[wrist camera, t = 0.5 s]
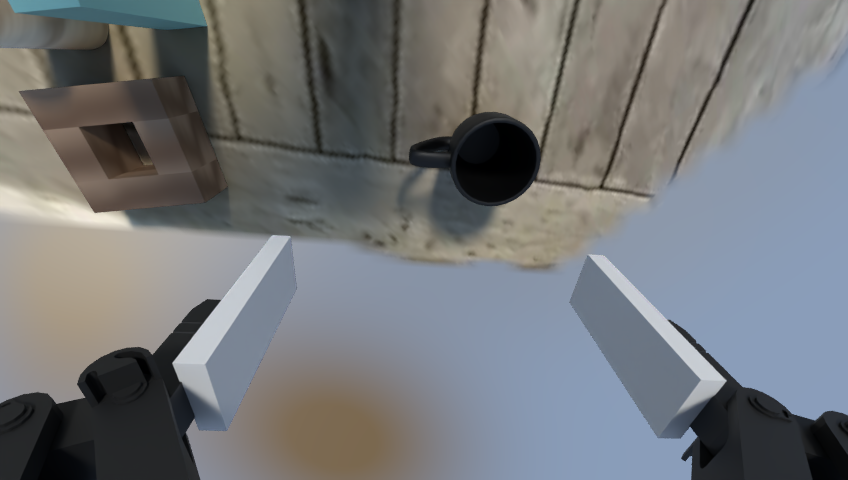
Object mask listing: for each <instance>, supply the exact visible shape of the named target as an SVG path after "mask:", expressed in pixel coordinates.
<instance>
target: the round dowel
mask: <svg viewBox="0 0 848 480" xmlns="http://www.w3.org/2000/svg"><path fill="white" fill-rule="evenodd" d="M108 31H109V26H108V23H100V22H91V21H82V20H73V19H64V18H55V17H46V16H37V15H29V14H20V13H15V12H14V11H13V9H12V7H11V5H10V4H9V2H8V0H0V48H33V49H74V50H92V49H96V48H99V47H100V46H102V45H103V44H104V43H105V41H106V39H107V37H108Z"/></svg>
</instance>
